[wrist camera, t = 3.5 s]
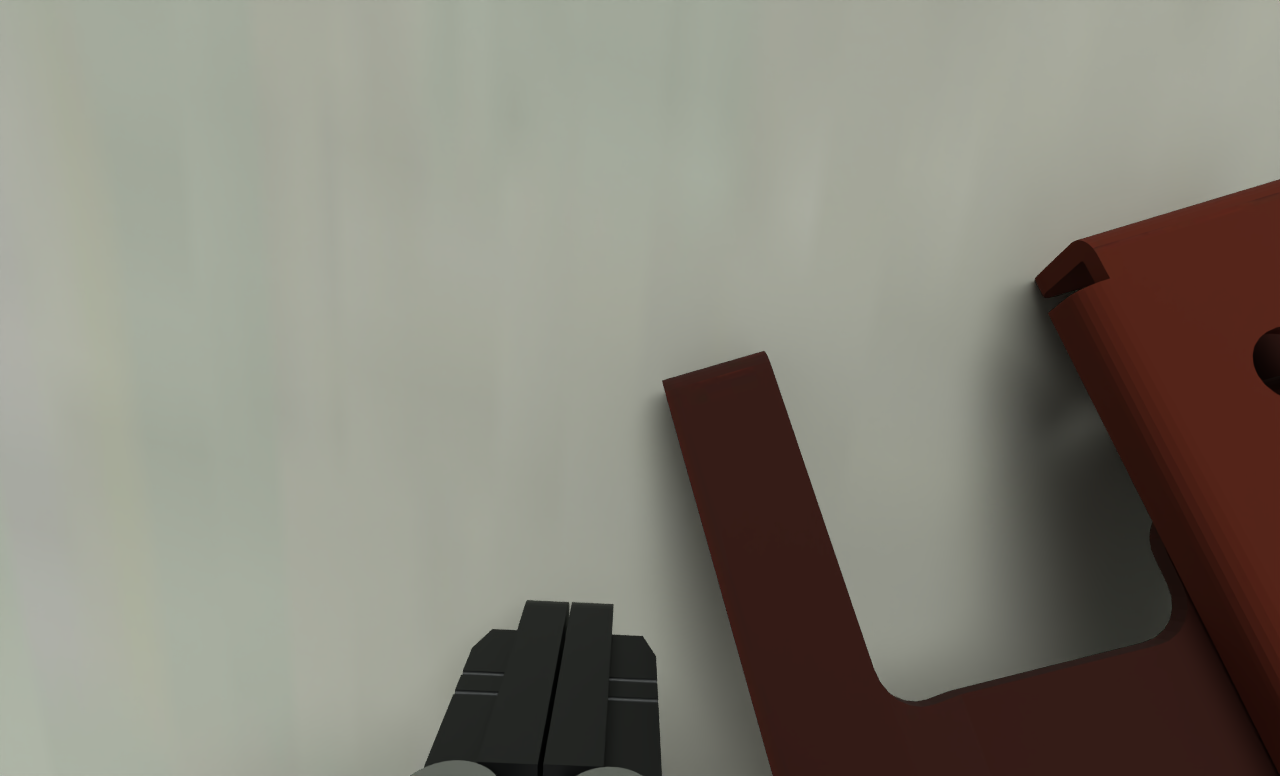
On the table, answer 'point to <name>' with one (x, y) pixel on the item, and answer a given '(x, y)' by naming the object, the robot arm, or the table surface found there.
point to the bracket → (1162, 474)
